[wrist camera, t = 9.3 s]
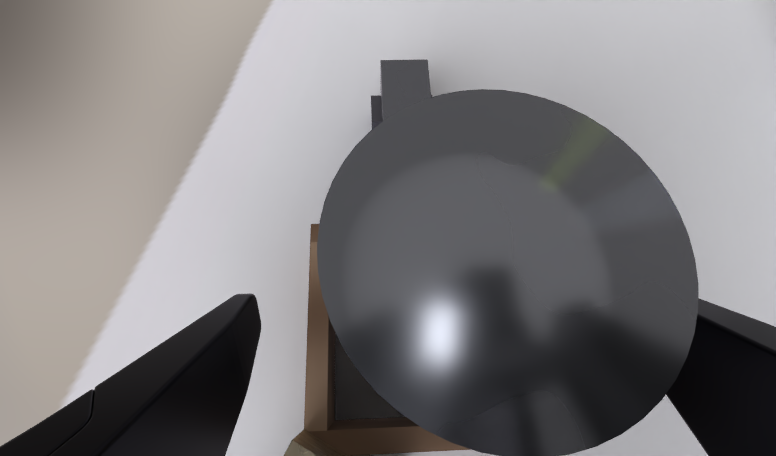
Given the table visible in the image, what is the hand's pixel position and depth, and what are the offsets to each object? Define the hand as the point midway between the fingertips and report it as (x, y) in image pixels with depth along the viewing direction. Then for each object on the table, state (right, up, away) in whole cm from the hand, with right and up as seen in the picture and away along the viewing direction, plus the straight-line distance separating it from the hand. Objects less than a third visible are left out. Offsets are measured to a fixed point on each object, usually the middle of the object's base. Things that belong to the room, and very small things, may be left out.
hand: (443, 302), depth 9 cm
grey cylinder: (0, -3, +8) cm, 8 cm away
